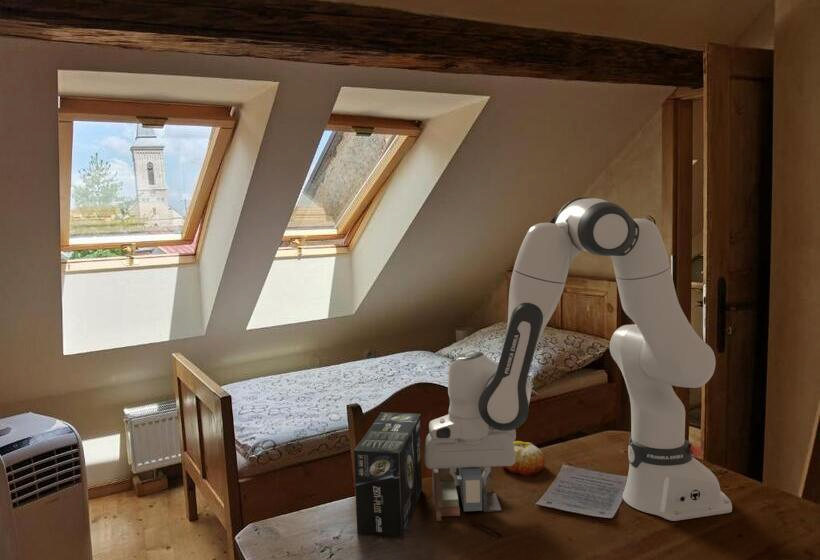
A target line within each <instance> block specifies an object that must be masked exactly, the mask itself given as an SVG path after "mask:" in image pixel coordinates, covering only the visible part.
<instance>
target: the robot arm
mask: <svg viewBox="0 0 820 560" xmlns="http://www.w3.org/2000/svg"><path fill="white" fill-rule="evenodd" d="M524 236H525V237H524V239H523V240H522V243H521V245H520V248H519V250H518V253H517V256H516V259H515V261H514V265H513V270H512V272H511V273H512V274H511V278H510V282H509V284H510V285H509V289H508V290H509V291H508V307H507V308H508V309H507V327H506V334H505V339H504V343H503V346H502V351H501V354H500V358H499V362H498V361H495V360H494V359H492V358H490V357H489V356H487V355H486V354H485V353H484V352H481V351H468V352H464V353H461V354H458V355H457V356H455V357H454V358H453V359H452V360H451V361H450V362H449V367H448V375H447V376H448V377H447V394H448V397H449V398H448V399H449V407H448V414H445V415H444V416H440V417H438V418H434V419H431V420H430V421H429V423H428V432H429V433H428V434H427V435H426V437H425V441H424V450H423V460H424V461H423V463H424V466H425V467H426V469H428V470H432V469H443V468H449V471H450V473H451V475H452V477H453V478H454V484H455V486H461V476H457V475H456V473H455V472H456V468H467V467H483V468H484V471H483V473H482V485H486V478H487V476H488V474H489V473H490V471H491V467H492V466H493V467H503V466H512V465H513V464H514V463H515V461H516V458H515V449H514V443H513V442H514V441H516V438H517V431H516V429H518V428H520V427H521V426H522V425H523V424H524V423H526V420H527V418H528V415H529V411H530V410H529V409H530V408H529V407H530V401H531V397H532V396H531V395H532V391H533V387H532V381H531V379H530V377H529V374H530V370H531V366H532V363H533V360H534V359H533V358H534V355H535V352H536V348H537V345H538V342H539V340H540V338H541V336H542V334H543V332H544V330H545V328H546V327H547V326H548V325H547V324H548V323H549V321H550V320H551V318H552V316H553V314H554V313H555V310H556V309H557V306H558V304H559V302H560V300H561V297H562V294H563V292H564V289H565V285H566V283H567V282H566V281H567V277H568V274H569V270H570V269H569V268H570V267H571V265H572V263H573V261H574V259H575V258H576V257H577V256H578V255H579V254H580V253H581V252H585V253H586V252H587V253H590V254H592V255H595V256H599V257H601V256H602V257H610V259H611V262H612V264H613V270H614V275H615V280H616V284H617V289H618V294H619V299H620V304H621V307H622V310H623V312H624V314H625V315H626V316H628V318H629V319H631V320H632V321H633V324H624V325H621V326H620V327H618V328H617V329H615V331H614V332H613V334H612V335H611V338H610V339H609V340H610V341H609V353H610V356H611V358H612V359H613V361H614V362H615V363H616V364H617V366H618V368H619V369H620V371H621V374H622V377H623V379H624V383H625V385H626V389H627V393H628V395H629V396H628V397H629V402H630V415H631V416H630V419H631V420H630V421H631V422H630V424H631V429H630V431H631V433H630V436H629V438H628V441H629V442H628V447H627V448H628V449H627V451H628V454H627V455H628V462H629V465H628V473H627V478H626V483H625V486H624V490H623V493H622V499H623V501H624V502H625V504H627V505H628V506H630V507H632V508H633V509H636V510H637V511H641V512H644V513H647V514H651V515H655V516H658V517H660V518H663V519H665V520H668V521H673V522H675V521H676V522H677V521H682V520H683V521H685V520H690V519H696V518H703V517H709V516H710V517H711V516H716V515H723V514H729V513H732V511H733V503H732V501H731V500H730V498H729V497H728V496H727V495H726V494H725V493H724V492H723V491H721V487H720V483H719V480H718V478H717V477H716V475H715V474H714V472H713V471H711V470H710V469H709V468H708V467H707V466H705V465H704V464H703V463H701V462H700V461H699V460H697V459H696V458H700V457H701V455H703V454H702V453H703V450H702V449H701V448H699V447H698V446H697V445H693V444H692V443H691V442H690V441H689V440H687V439H685V436H686V409H685V406H684V403H683V402H682V400H681V399H680V397H678V395H677V394H676V392H675V390H674V388H673V386H674V387H679V388H692V389H693V388H694V389H697V388H701V387H703V386H704V385H706V384H707V383H708V382H709V381H710V379H711V378H712V377H713V376H714V373H715V369H716V361H717V360H716V356H715V352H714V351H713V349H712V347H711V346H710V345H709V344H707V343H706V342H705V341H704V340H703V339H702V338H701V337H700V336H699V335H698V334H697V332H696V330H694V328H693V326H692V325H691V323H690V321H689V320H688V318H687V316H686V315H685V313H684V311H683V309H682V307H681V304H680V302H679V298H678V296H677V293H676V288H675V284H674V280H673V274H672V269H671V265H670V261H669V260H670V259H669V256H668V251H667V249H666V245H665V242H664V239H663V237H662V234H661V232H660V230H659V228H658V226H657V225H656V224H655V223H654V222H653V221H652V220H650V219H646V218H632V217H631V216H630V214H629V213H628V212H627V211H626V210H625V208H623V207H622V206H620V205H618V204H617V203H614V202H611V201H608V200H605V199H601V198H596V197H595V198H594V197H578V198H574V199H572V200H570V201H568V202H567V203H566V204H564V205H563V206H562V207H561V208H560V210H559V211H558V213H557V214H556V215H554V217H553V218H552V219H551V220H550V222H539V223H536V224H534V225H532V226H530V228H529V229H528V230H527V232H526V235H524ZM693 456H694V457H693ZM695 457H696V458H695Z"/></svg>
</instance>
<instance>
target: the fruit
mask: <svg viewBox="0 0 820 560" xmlns="http://www.w3.org/2000/svg"><path fill="white" fill-rule="evenodd" d="M513 443H514V449H515V458H516V461H515V463H514V464H513V465H512V466H502V468H504V469H505V470H507V471H510V473H512V474H513V473H514V474H520V475H521V476H531V475H534V474H535V475H536V474H538V473H539V472H540V471H542V469H544V467H545V465H546V457H545V455H544V454H545V453H544V452H543V450H542V449H540V448H539V447H537V446H536V445H534V444H533V442H527V441H526V442H524V441H521V440H515V441H514V442H513Z"/></svg>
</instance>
